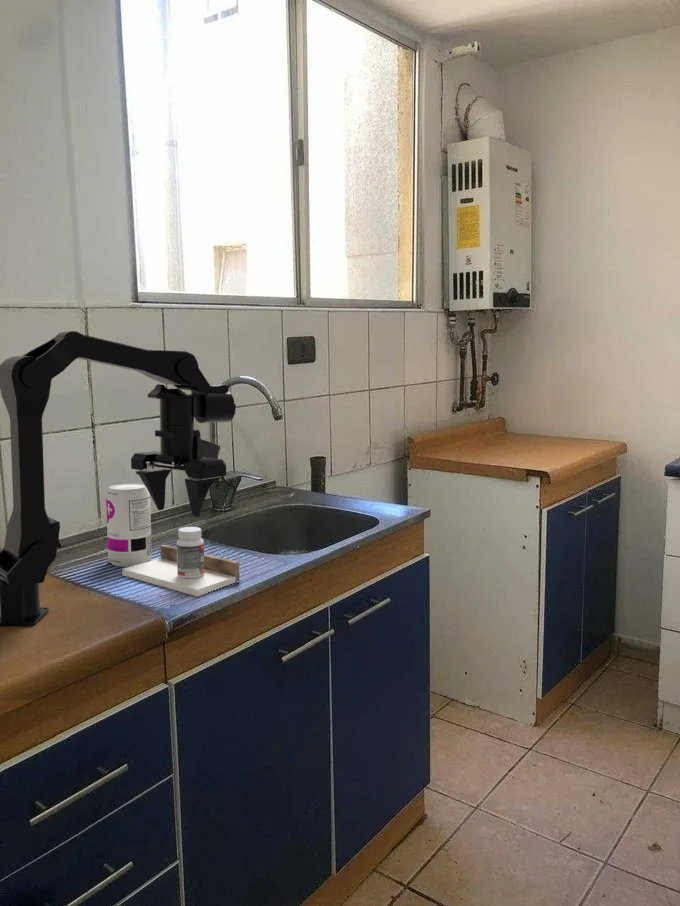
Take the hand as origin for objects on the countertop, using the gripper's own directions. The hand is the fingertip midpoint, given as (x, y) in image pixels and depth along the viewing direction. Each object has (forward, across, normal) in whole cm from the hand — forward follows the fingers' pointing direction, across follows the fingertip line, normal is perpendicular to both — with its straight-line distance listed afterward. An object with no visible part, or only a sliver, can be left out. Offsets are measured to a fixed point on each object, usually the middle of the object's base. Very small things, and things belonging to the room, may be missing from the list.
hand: (178, 513), depth 127 cm
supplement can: (+13, +18, -3) cm, 22 cm away
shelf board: (+13, +2, -2) cm, 13 cm away
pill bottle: (+12, -1, -2) cm, 12 cm away
